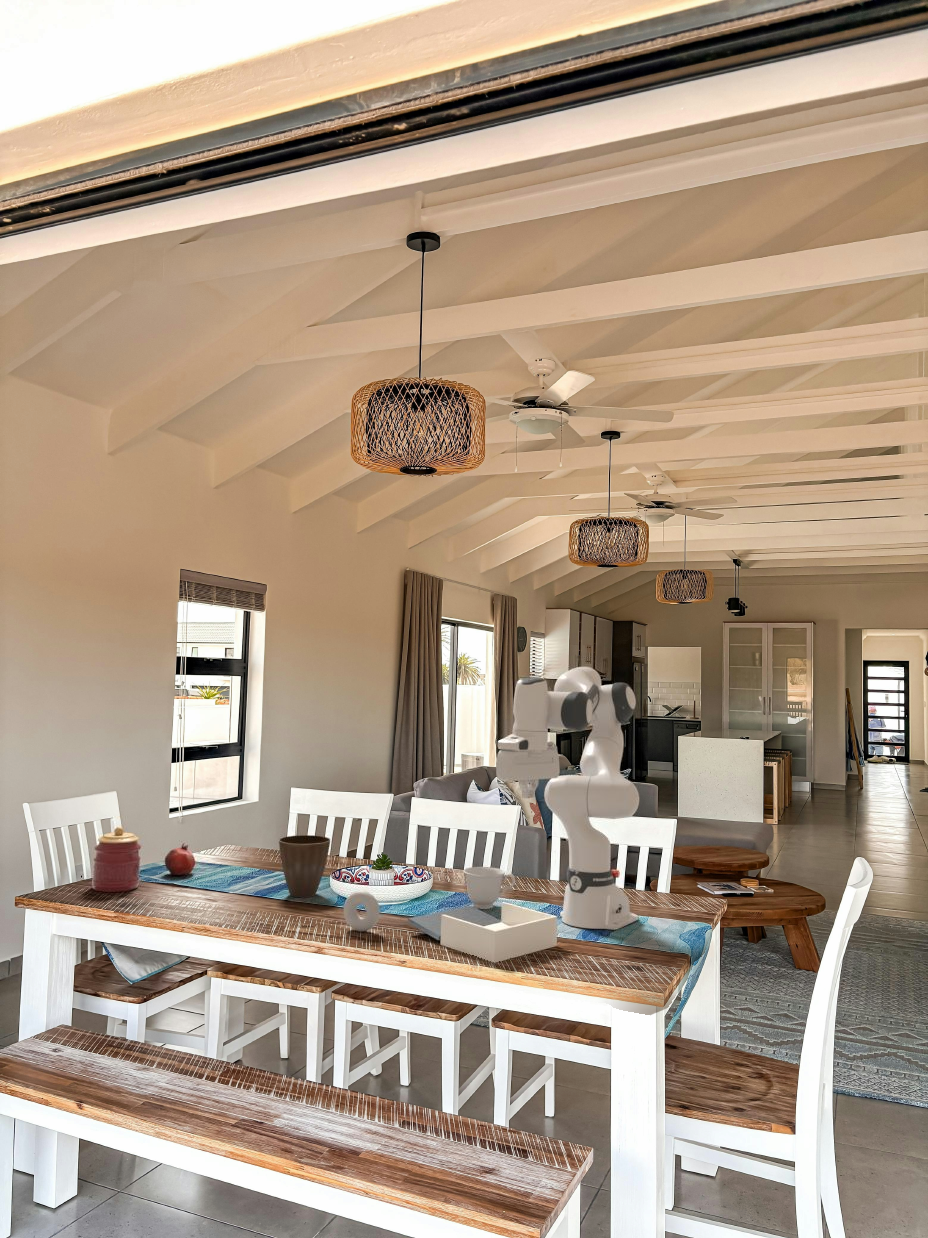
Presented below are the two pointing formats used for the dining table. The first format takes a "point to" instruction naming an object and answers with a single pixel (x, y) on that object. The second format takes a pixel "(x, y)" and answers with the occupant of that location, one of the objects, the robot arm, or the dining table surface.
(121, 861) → the canister
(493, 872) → the teacup
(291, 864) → the plant pot
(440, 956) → the dining table surface
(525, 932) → the drawer box
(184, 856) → the fruit
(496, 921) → the grey rectangular panel
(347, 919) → the donut
